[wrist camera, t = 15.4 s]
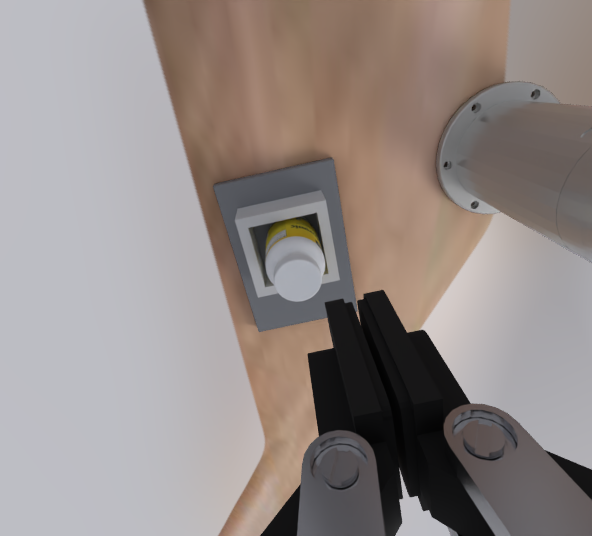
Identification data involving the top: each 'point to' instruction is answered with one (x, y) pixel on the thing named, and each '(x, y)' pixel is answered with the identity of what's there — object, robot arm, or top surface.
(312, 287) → the supplement bottle
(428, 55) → the top surface
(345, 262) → the collar stand
